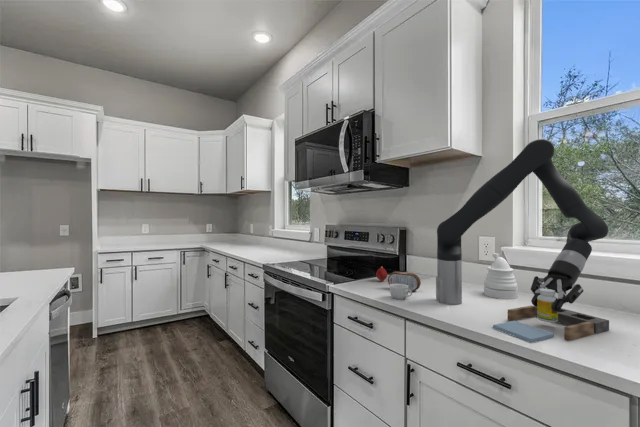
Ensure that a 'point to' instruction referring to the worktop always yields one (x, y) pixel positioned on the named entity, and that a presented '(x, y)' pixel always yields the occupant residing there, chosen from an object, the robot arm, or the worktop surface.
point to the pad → (524, 331)
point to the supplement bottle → (546, 306)
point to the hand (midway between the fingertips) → (543, 307)
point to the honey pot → (500, 280)
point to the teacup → (399, 291)
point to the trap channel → (566, 321)
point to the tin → (405, 280)
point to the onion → (381, 274)
